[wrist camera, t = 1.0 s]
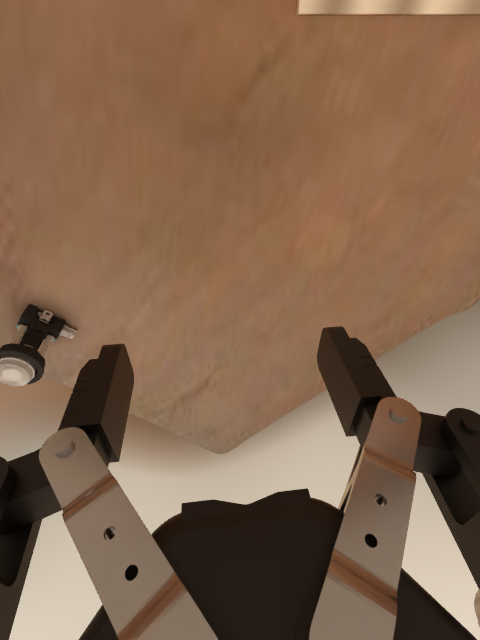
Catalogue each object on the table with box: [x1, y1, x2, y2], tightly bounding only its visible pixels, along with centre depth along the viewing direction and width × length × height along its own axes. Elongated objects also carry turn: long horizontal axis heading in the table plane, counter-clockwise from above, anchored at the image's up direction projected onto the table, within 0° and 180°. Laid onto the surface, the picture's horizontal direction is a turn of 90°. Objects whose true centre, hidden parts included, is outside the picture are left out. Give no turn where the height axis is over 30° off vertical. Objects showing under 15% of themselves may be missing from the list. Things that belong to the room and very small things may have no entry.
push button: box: [0, 305, 76, 386], centre depth 39 cm, size 7×5×10 cm
